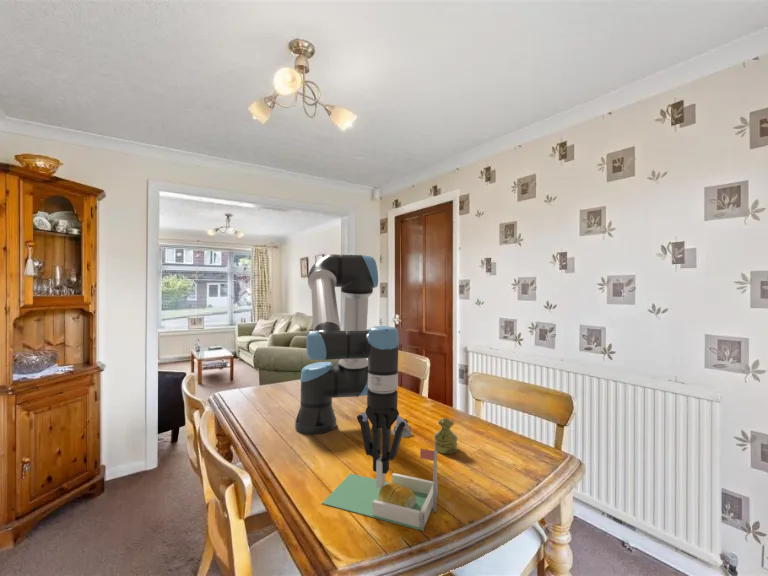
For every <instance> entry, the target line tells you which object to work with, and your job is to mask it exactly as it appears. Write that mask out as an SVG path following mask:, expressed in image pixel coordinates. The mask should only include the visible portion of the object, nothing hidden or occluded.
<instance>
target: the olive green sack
mask: <svg viewBox="0 0 768 576" xmlns="http://www.w3.org/2000/svg"><path fill="white" fill-rule="evenodd" d="M438 425H439V426H440V427H441V428H440V430H439V431H438V432H436V433H435V434H434V445H433V446H434V450H436V451H437V453H440V454H442V455H452V454H455V453H457V451H458V435H457V434H456V433H454V431H452V430H451V427H453V426H454V425H455V422H454V421H453V420H452V419H449V418H448V417H444V418H441V419H439V420H438Z"/></svg>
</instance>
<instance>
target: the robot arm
mask: <svg viewBox="0 0 768 576" xmlns="http://www.w3.org/2000/svg"><path fill="white" fill-rule="evenodd" d="M377 265H378V264H377V262H376V259H375V258H374V257H373V256H370V255H365V254H364V255H363V254H338V253H337V254H335V253H333V254H327V255H325V256H323V257H321V258H319V259H318V260H317V261H315V262H314V264H313V265H312V266H311V268H310V270H309V272H308V275H307V284H308V288H309V289H310V290H311V291H310V292H311V311H312V312H311V313H312V331H311V330H310V331H307V333H306V343H305V344H306V347H305V348H306V358H308V359H309V360H310V361H311V360H313V361H318V360H319V362H313V363H310V364H307V365H305V366H304V367H302V369H301V374H300V380H299V381H300V406H299V409H298V412H297V416H296V419H295V422H294V423H295V425H294V427H295V431H297V432H299V433H302V434H307V435H319V434H325V433H328V432H330V431H333V430H334V429H335V428H336V427H337V417H336V415H335V414H336V413H335V410H334V407H333V399H335V398H336V399H337V398H355V397H356V398H359V397H365V396H366V409H365V411H364V412H361V413H359V414H358V415H356V420H357V421H358V423H359V426H360V430H361V431H360V432H361V435H362V441H363V446H364V451H365V454H366V456H370V457H371V458H372V471H373V472H375V473H376V474H375V479H376V487H378V488H382V487H383V485H384V484H385V481H386V475H387V473H389V470H390V461H393V460H394V459H395V457H396V456H397V455H398V451H399V448H400V444H401V440H402V438H403V437H402V433H403V429H404V427H405V426H406V425H407V424H408V423H409V421H408V419H404V418H402V417H401V416H400V412H399V410H398V387H399V385H398V384H399V377H398V376H399V346H400V340H399V339H400V338H399V330H398V328H396V327H394V326H388V325H387V326H386V325H385V326H384V325H382V326H380V325H378V326H372V327H369V328H368V313H369V312H368V311H369V310H368V309H369V297H370V296H372V294H374V289H375V288H377V287H378V286H379V271H378V266H377ZM335 288H341V289H340V292H341V293H342V295H344V318H343V330H341V325H340V324H341V323H340V317H339V311H338V310H339V309H338V303H337V296H336V289H335ZM367 328H368V329H367ZM327 360H338V365H333V363H332V362H331V361H327ZM369 421H370V422H369ZM395 422H396V424H395V425H396V426H397V429H396V432H395V435H393V436H394V437H393V440H392V444H391V433H392V426H393V424H394V423H395ZM370 423H371V428H370ZM405 428H406V427H405ZM371 431H372V432H371ZM381 438H382V439H381Z"/></svg>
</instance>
